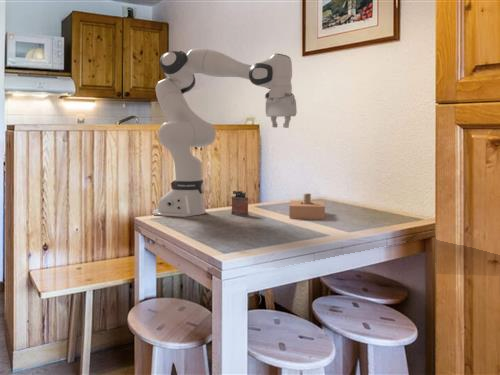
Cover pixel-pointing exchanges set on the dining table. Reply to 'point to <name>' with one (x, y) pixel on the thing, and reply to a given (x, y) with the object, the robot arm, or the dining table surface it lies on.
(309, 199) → the key peg
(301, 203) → the block
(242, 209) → the lighter
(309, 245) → the dining table surface
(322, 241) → the dining table surface
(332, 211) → the dining table surface
